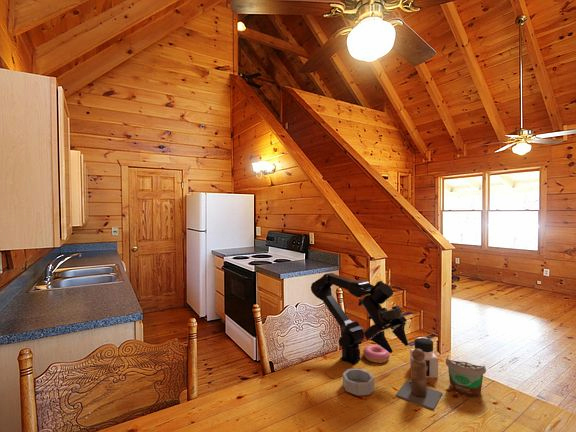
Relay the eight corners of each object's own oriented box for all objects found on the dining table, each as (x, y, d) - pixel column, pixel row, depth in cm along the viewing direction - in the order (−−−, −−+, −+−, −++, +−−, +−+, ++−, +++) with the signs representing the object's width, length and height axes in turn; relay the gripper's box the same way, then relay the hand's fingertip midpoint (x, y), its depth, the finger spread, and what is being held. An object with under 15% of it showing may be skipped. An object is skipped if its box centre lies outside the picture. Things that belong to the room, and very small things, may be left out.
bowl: (338, 389, 109) (338, 377, 109) (352, 376, 117) (352, 365, 117) (365, 400, 103) (365, 387, 103) (377, 386, 111) (377, 374, 111)
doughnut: (376, 367, 125) (376, 356, 125) (357, 355, 134) (357, 346, 134) (395, 360, 130) (395, 350, 130) (376, 350, 140) (376, 341, 139)
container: (438, 378, 116) (438, 343, 116) (417, 378, 116) (417, 343, 116) (429, 367, 124) (429, 335, 123) (409, 367, 124) (409, 335, 123)
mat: (395, 395, 105) (395, 394, 105) (406, 381, 114) (406, 380, 114) (433, 410, 98) (433, 408, 98) (442, 394, 106) (442, 392, 106)
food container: (445, 393, 107) (445, 364, 106) (445, 384, 112) (445, 356, 112) (487, 403, 101) (487, 372, 101) (485, 393, 106) (486, 364, 106)
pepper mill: (410, 395, 104) (410, 350, 104) (411, 387, 109) (411, 344, 108) (426, 398, 102) (425, 353, 102) (426, 390, 107) (426, 347, 106)
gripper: (370, 303, 110) (397, 346, 101) (402, 294, 121) (429, 332, 112) (353, 319, 116) (377, 360, 108) (385, 309, 127) (409, 345, 119)
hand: (399, 349), depth 111 cm, fingers open, 9 cm apart
